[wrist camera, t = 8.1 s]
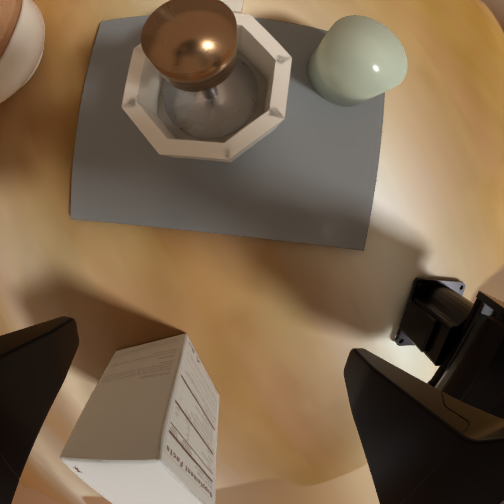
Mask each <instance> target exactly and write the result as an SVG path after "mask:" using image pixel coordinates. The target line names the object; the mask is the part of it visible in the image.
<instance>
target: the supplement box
mask: <svg viewBox="0 0 504 504" xmlns="http://www.w3.org/2000/svg"><path fill="white" fill-rule="evenodd" d="M218 412H219V394H218V392H217V390H216V389H215V387H214V385H213V383H212V381H211V379H210V377H209V376H208V374H207V372H206V370H205V368H204V366H203V364H202V362H201V360H200V358H199V356H198V354H197V352H196V351H195V349H194V347H193V345H192V343H191V341H190V339H189V337H188V335H187V334H186V333H184V334H181V335H177V336H173V337H169V338H165V339H162V340H158V341H154V342H150V343H146V344H142V345H138V346H134V347H130V348H126V349H122V350H117V351H116V352H115V354H114V355H113V357H112V359H111V361H110V362H109V364H108V366H107V368H106V369H105V371H104V373H103V375H102V376H101V378H100V380H99V382H98V384H97V385H96V387H95V389H94V391H93V393H92V394H91V396H90V398H89V400H88V402H87V404H86V406H85V408H84V410H83V411H82V413H81V415H80V417H79V419H78V421H77V423H76V425H75V427H74V429H73V431H72V433H71V435H70V437H69V439H68V441H67V443H66V445H65V447H64V449H63V451H62V453H61V455H60V458H61V459H62V461H63V462H64V463H65V464H66V465H67V466H68V467H69V468H70V469H71V470H72V471H73V472H74V473H75V474H76V475H77V476H79V477H80V478H81V479H82V480H83V481H84V482H86V483H87V484H88V485H89V486H90V487H92V488H93V489H94V490H95V491H97V492H98V493H99V494H100V495H102V496H103V497H104V498H106V499H107V500H108V501H110V502H111V503H112V504H215V485H216V451H217V431H218Z"/></svg>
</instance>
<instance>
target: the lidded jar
mask: <svg viewBox="0 0 504 504" xmlns="http://www.w3.org/2000/svg"><path fill="white" fill-rule="evenodd" d="M44 41H45V23H44V20H43V17H42V13H41V12H40V10H39V9H38V7H37V6H36V4H35V3H34V2H33V1H32V0H0V103H2V102H3V101H5V100H6V99H8V98H9V97H11V96H12V95H13V94H14V93H15V92H17V91H18V90H19V89H20V88H22V87H23V86H24V85H25V84H26V83H27V82H28V81H29V80H30V78H31V77H32V76H33V74H34V73H35V71H36V69H37V68H38V66H39V64H40V61H41V59H42V55H43V51H44Z"/></svg>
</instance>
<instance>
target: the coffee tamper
mask: <svg viewBox="0 0 504 504" xmlns="http://www.w3.org/2000/svg"><path fill="white" fill-rule="evenodd" d="M141 46H142V50H143V52H144V54H145V55H146V56H147V58H148V59H149V60H150V61H151V63H152V64H153V65H154V66H155V67H156V69H157V70H158V71H159V72H160V73H161V75H162V76H163V77H164V78H165V79H166V81H167V82H166V85H165V88H164V95H163V100H164V107H165V110H166V113H167V115H168V117H169V118H170V120H171V121H172V122H173V124H174V125H175V126H176V127H178V128H179V129H180V130H182V131H183V132H185V133H186V134H189V135H191V136H194V137H197V138H203V139H215V138H220V137H224V136H227V135H230V134H232V133H234V132H236V131H237V130H239V129H240V128H241V127H242V126H244V125H245V124H246V123H247V122H248V120H249V119H250V118H251V116H252V115H253V113H254V111H255V108H256V106H257V102H258V96H259V88H258V83H257V79H256V77H255V75H254V73H253V71H252V70H251V69H250V67H249V66H248V65H247V64H246V63H245V62H244V61H242V60H241V59H239V58H237V22H236V18H235V15H234V13H233V12H232V10H231V9H230V8H229V7H228V6H227V5H226V4H225V3H224V2H222V1H220V0H170V1H168V2H166V3H164V4H163V5H161V6H160V7H159V8H157V9H156V10H155V11H154V12H153V13H152V14H151V15H150V16H149V18H148V19H147V20H146V22H145V24H144V26H143V29H142V32H141Z"/></svg>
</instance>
